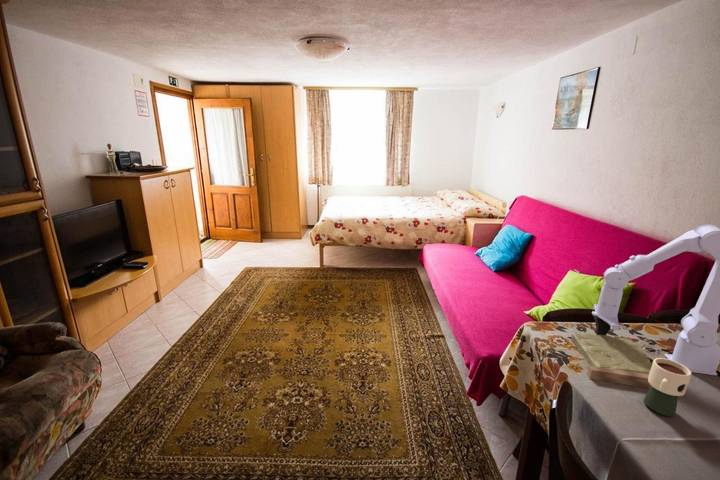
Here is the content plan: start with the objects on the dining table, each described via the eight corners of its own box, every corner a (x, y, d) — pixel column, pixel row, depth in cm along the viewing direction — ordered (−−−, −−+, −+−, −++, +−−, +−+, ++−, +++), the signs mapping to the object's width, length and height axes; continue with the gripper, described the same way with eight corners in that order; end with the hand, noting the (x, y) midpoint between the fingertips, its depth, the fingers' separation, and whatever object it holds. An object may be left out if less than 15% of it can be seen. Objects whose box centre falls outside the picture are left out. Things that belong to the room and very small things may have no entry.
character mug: (671, 427, 80) (687, 383, 76) (635, 409, 85) (648, 367, 81) (681, 406, 86) (696, 365, 82) (646, 391, 91) (659, 351, 88)
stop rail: (674, 387, 93) (677, 378, 92) (679, 392, 91) (682, 383, 90) (586, 374, 98) (588, 365, 97) (589, 378, 96) (591, 369, 95)
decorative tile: (596, 376, 98) (598, 366, 97) (570, 339, 116) (572, 330, 115) (669, 386, 94) (672, 376, 93) (630, 345, 112) (632, 337, 111)
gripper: (587, 291, 118) (579, 325, 122) (605, 311, 104) (596, 347, 108) (609, 294, 116) (601, 327, 120) (630, 314, 103) (620, 351, 107)
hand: (600, 337), depth 114 cm, fingers closed, pressing on decorative tile
